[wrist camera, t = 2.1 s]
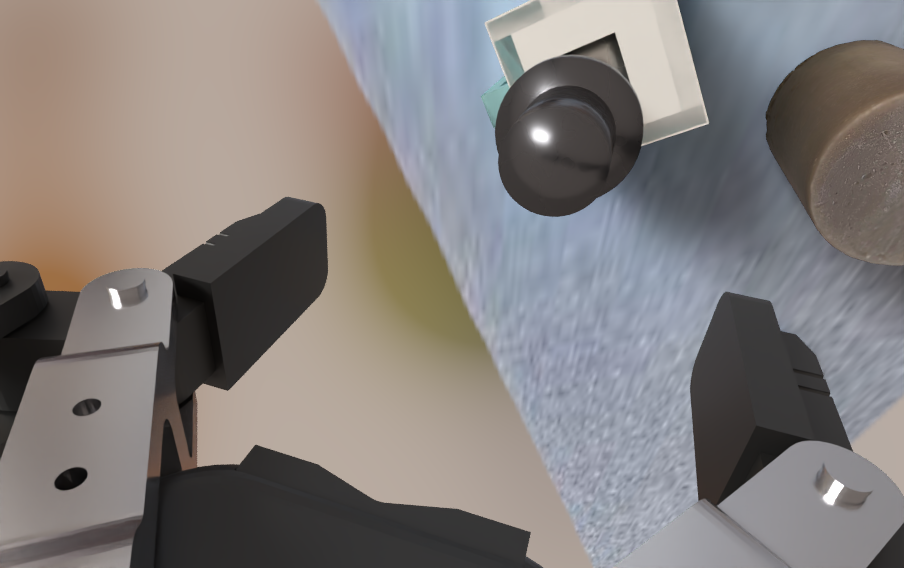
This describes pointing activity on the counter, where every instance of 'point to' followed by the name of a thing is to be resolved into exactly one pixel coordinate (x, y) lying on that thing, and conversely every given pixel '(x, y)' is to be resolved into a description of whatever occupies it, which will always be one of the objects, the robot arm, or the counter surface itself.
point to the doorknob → (569, 129)
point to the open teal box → (641, 44)
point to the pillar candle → (846, 146)
